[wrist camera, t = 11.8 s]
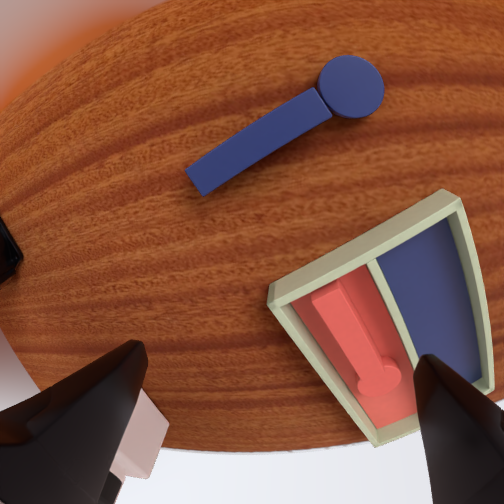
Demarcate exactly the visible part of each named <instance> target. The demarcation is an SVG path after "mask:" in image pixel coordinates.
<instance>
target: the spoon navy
mask: <svg viewBox="0 0 504 504" xmlns="http://www.w3.org/2000/svg"><path fill="white" fill-rule="evenodd" d="M317 89H318V92H317V91H316V90H315V88H314V87H312V88H310V89H308V90H306V91H305V92H303V93H301V94H299V95H298V96H296V97H294V98H292V99H291V100H289V101H287V102H286V103H284V104H282V105H281V106H279V107H277V108H276V109H274V110H272V111H271V112H269V113H268V114H266V115H264V116H263V117H261V118H260V119H258V120H256V121H255V122H253V123H252V124H250V125H249V126H247V127H246V128H244V129H243V130H241V131H239V132H238V133H236V134H235V135H233V136H232V137H230V138H229V139H227V140H226V141H225V142H223V143H222V144H220V145H219V146H217V147H216V148H214V149H213V150H211V151H210V152H209V153H207V154H206V155H204V156H203V157H202V158H200V159H199V160H197V161H196V162H195V163H193V164H192V165H191V166H189V167H188V168H186V169H185V172H186V174H187V175H188V176H189V178H190V179H191V181H192V182H193V184H194V185H195V186H196V188H197V189H198V191H199V192H200V194H201V195H202V196H203V197H204V196H206V195H207V194H209V193H210V192H212V191H213V190H215V189H216V188H218V187H219V186H221V185H222V184H224V183H225V182H227V181H228V180H230V179H231V178H233V177H234V176H236V175H237V174H239V173H240V172H242V171H243V170H245V169H247V168H248V167H250V166H251V165H253V164H254V163H256V162H258V161H259V160H261V159H262V158H264V157H266V156H267V155H269V154H270V153H272V152H274V151H275V150H277V149H278V148H280V147H282V146H283V145H285V144H287V143H288V142H290V141H292V140H293V139H295V138H297V137H298V136H300V135H302V134H303V133H305V132H307V131H309V130H310V129H312V128H314V127H316V126H317V125H319V124H321V123H322V122H324V121H326V120H328V119H330V118H331V117H332V114H331V112H332V113H334V114H336V115H338V116H340V117H344V118H350V119H351V118H362V117H365V116H368V115H370V114H372V113H373V112H374V111H376V110H377V109H378V107H379V106H380V104H381V103H382V100H383V97H384V83H383V80H382V77H381V75H380V73H379V72H378V70H377V69H376V68H375V67H374V66H373V65H372V64H371V63H370V62H368V61H367V60H365V59H363V58H360V57H357V56H352V55H343V56H339V57H336V58H334V59H332V60H330V61H329V62H328V63H327V64H326V65H325V66H324V68H323V69H322V71H321V73H320V75H319V78H318V82H317ZM329 110H330V111H331V112H330V111H329Z"/></svg>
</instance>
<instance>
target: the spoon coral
mask: <svg viewBox="0 0 504 504" xmlns="http://www.w3.org/2000/svg"><path fill="white" fill-rule="evenodd" d="M311 301H312V304H313V305H314V307H315V308H316V310H317V311H318V313H319V315H320V316H321V318H322V319H323V321H324V322H325V324H326V325H327V327H328V329H329V330H330V332H331V333H332V335H333V336H334V338H335V340H336V341H337V343H338V344H339V346H340V347H341V349H342V351H343V352H344V354H345V355H346V357H347V358H348V360H349V362H350V363H351V365H352V366H353V368H354V370H355V371H356V374H355V379H356V384H357V389H358V391H359V392H360V393H361V394H362V395H364V396H367V397H378V396H382V395H385V394H387V393H389V392H391V391H392V390H394V389H395V388H396V387H397V386H398V384H399V383H400V381H401V371H400V369H399V366H398V363H397V361H396V360H395V359H393V358H391V357H388V356H380V353H379V351H378V349H377V347H376V345H375V343H374V341H373V339H372V337H371V335H370V333H369V331H368V330H367V328H366V326H365V324H364V322H363V320H362V318H361V317H360V315H359V313H358V311H357V309H356V307H355V306H354V304H353V302H352V300H351V298H350V297H349V295H348V293H347V291H346V289H345V288H344V286H343V284H342V282H341V281H340V279H339V278H337V279H335V280H333V281H332V282H330V283H328V284H326V285H324V286H322V287H320V288H318V289H316V290H314V291H312V292H311Z"/></svg>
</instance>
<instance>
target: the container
mask: <svg viewBox="0 0 504 504" xmlns="http://www.w3.org/2000/svg"><path fill="white" fill-rule="evenodd" d="M168 427H169V422H168V421H167V420H166V418H165V417H164V416H163V415H162V414H161V412H160V411H159V410H158V409H157V407H156V406H155V405H154V404H153V402H152V401H151V400H150V398H149V397H148V396H147V395H146V393H145V392H144V391H143V389H142V388H141V390H140V394H139V397H138V400H137V403H136V406H135V408H134V411H133V413H132V416H131V418H130V420H129V423H128V425H127V428H126V430H125V433H124V435H123V437H122V440H121V442H120V445H119V447H118V450H117V452H116V455H115V457H114V460H113V463H112V465H111V468H110V470H109V473H108V475H107V478H106V481H105V483H104V486H103V489H102V491H101V494H100V497H99V499H98V501H97V502H98V503H97V504H115V502H116V500H117V497H118V495H119V492H120V490H121V488H122V485H123V483H124V480H125V475H126V476H131V477H137V478H143V479H148V478H149V477H150V474H151V472H152V469H153V466H154V464H155V461H156V458H157V456H158V453H159V450H160V448H161V445H162V442H163V440H164V437H165V435H166V432H167V429H168Z"/></svg>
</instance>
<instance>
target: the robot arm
mask: <svg viewBox="0 0 504 504" xmlns="http://www.w3.org/2000/svg"><path fill="white" fill-rule="evenodd" d="M22 259H23V255H22V252H21V251H20V249H19V248H18V246H17V244H16V243H15V241H14V240H13V238H12V236H11V235H10V233H9V231H8V229H7V228H6V226H5V224H4V222H3V221H2V219H1V217H0V290H1V289H2V288H4V287H5V286H6V285H7V284H9V282H10V281H11V280H12V278H13V277H14V275H15V274H16V270H15V269H16V268H17V266H18V265H19V263H20V262H21V261H22ZM147 367H148V357H147V354H146V350H145V347H144V343H143V342H142V341H139V340H129V341H127V342H126V343H124V344H122V345H120V346H119V347H117V348H115V349H114V350H112V351H110V352H109V353H107V354H105V355H104V356H102V357H100V358H99V359H97V360H95V361H93V362H92V363H90V364H88V365H87V366H85V367H83V368H82V369H80V370H78V371H76V372H75V373H73V374H71V375H70V376H68V377H66V378H64V379H63V380H61V381H59V382H58V383H56V384H54V385H53V386H52V387H49V388H47V389H45V390H44V391H42V392H40V393H38V394H36V395H35V396H33V397H31V398H29V399H27V400H25V401H22V402H20V403H18V404H16V405H14V406H12V407H9V408H7V409H5V410H3V411H0V504H97V503H98V502H97V501H98V499H99V497H100V494H101V491H102V489H103V486H104V483H105V481H106V478H107V475H108V473H109V470H110V468H111V465H112V463H113V460H114V457H115V455H116V452H117V450H118V447H119V445H120V442H121V440H122V437H123V435H124V433H125V430H126V428H127V425H128V423H129V420H130V418H131V416H132V413H133V411H134V408H135V406H136V403H137V400H138V397H139V394H140V390H141V387H142V383H143V380H144V377H145V373H146V370H147ZM413 383H414V390H415V398H416V406H417V414H418V420H419V425H420V430H421V434H422V439H423V444H424V449H425V455H426V460H427V466H428V472H429V477H430V484H431V492H432V499H433V504H504V410H501V408H500V407H499V406H497V405H496V404H495V403H494V402H493V401H492V400H490V399H489V398H488V397H487V396H485V395H484V394H483V393H482V392H481V391H479V390H478V389H477V388H476V387H474V386H473V385H472V384H471V383H469V382H468V381H467V380H466V379H464V378H463V377H462V376H461V375H459V374H458V373H457V372H456V371H454V370H453V369H452V368H451V367H449V366H448V365H447V364H446V363H444V362H443V361H442V360H441V359H439V358H438V357H437V356H435V355H434V354H423V355H421V356H420V358H419V361H418V363H417V365H416V368H415V370H414V373H413Z"/></svg>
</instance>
